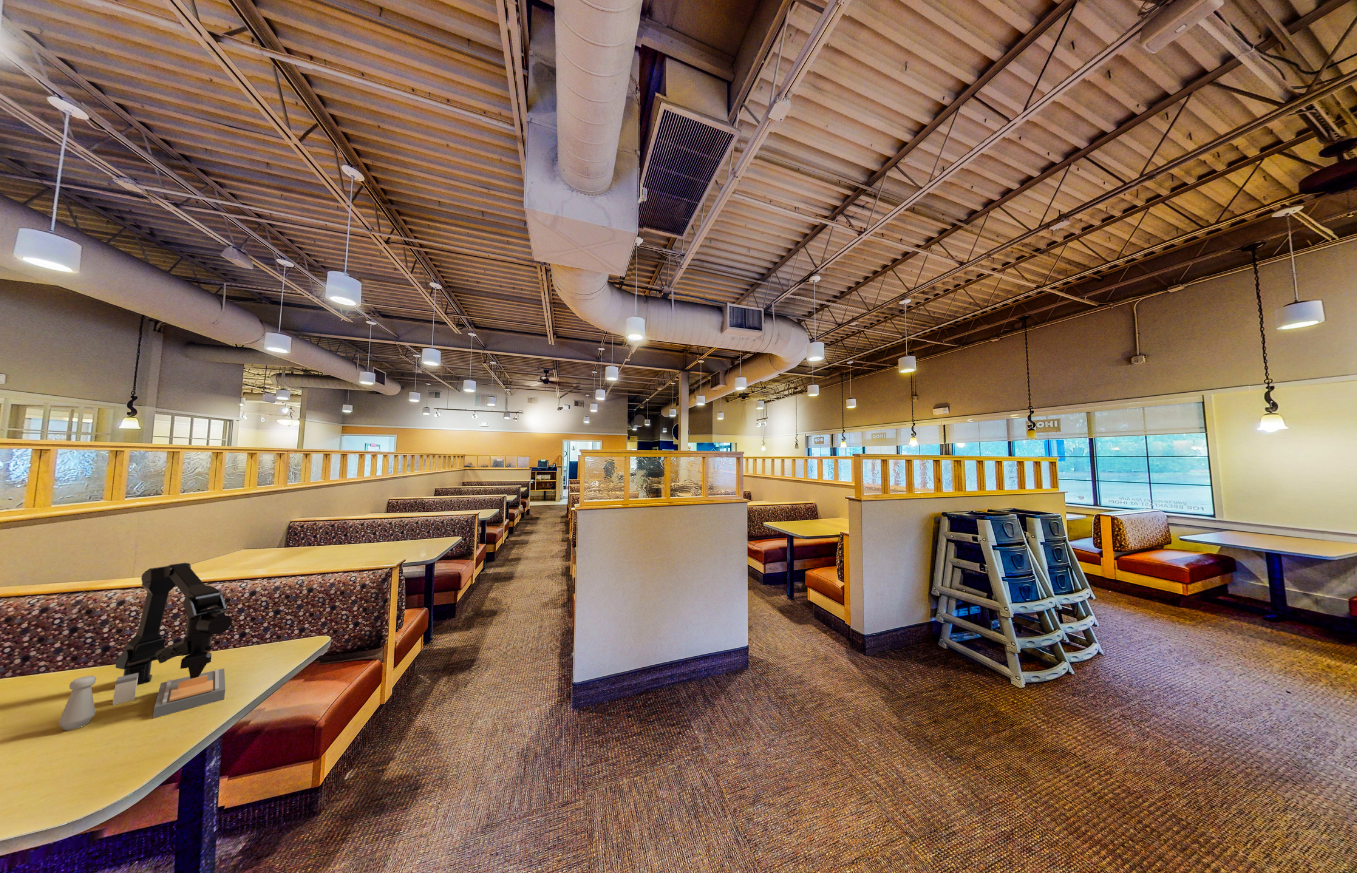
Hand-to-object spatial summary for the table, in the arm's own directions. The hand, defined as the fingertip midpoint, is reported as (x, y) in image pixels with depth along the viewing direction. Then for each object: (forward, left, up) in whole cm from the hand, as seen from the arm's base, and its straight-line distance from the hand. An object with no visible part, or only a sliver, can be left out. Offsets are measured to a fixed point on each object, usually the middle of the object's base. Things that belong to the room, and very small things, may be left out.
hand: (193, 681), depth 132 cm
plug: (-13, -14, -5) cm, 19 cm away
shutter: (+5, 0, -1) cm, 5 cm away
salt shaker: (0, -21, -5) cm, 22 cm away
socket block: (-1, 0, -5) cm, 5 cm away
